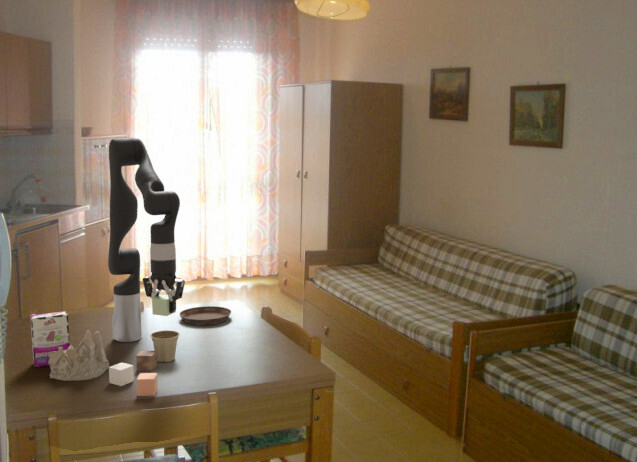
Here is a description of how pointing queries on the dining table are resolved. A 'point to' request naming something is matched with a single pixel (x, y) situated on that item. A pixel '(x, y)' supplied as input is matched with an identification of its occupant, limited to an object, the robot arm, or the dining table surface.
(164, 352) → the flower pot
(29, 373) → the dining table surface
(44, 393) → the dining table surface
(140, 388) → the terracotta cube
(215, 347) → the dining table surface
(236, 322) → the dining table surface
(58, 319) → the candy bar box
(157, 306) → the sage cube
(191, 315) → the plant saucer
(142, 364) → the walnut cube
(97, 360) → the ceramic cottage
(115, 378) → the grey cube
